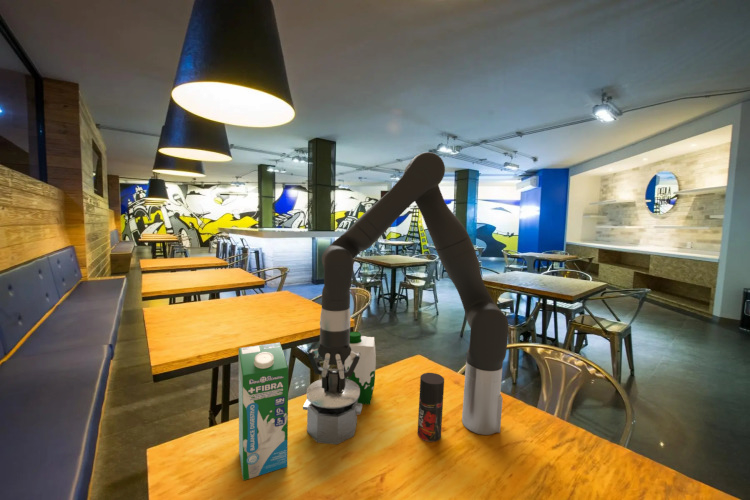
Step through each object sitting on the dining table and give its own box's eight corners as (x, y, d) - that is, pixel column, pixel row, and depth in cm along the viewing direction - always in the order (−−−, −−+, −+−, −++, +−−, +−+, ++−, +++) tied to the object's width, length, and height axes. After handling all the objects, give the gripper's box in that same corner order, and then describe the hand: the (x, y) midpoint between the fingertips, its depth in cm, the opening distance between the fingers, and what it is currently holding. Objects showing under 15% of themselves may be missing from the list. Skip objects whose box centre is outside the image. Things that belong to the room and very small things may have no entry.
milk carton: (243, 481, 66) (242, 364, 64) (239, 452, 74) (238, 347, 72) (287, 467, 71) (288, 356, 68) (279, 441, 79) (280, 341, 76)
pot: (363, 416, 90) (364, 392, 89) (357, 446, 78) (358, 418, 77) (311, 411, 91) (311, 387, 90) (297, 440, 79) (297, 413, 78)
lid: (363, 382, 90) (363, 361, 89) (355, 411, 76) (356, 387, 75) (314, 378, 91) (315, 358, 90) (299, 405, 77) (299, 382, 77)
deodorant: (445, 434, 83) (448, 378, 82) (432, 445, 79) (435, 386, 77) (426, 423, 87) (429, 370, 86) (412, 433, 83) (415, 378, 81)
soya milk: (346, 389, 103) (347, 328, 101) (374, 390, 103) (376, 329, 101) (342, 405, 94) (344, 338, 92) (373, 406, 94) (376, 340, 92)
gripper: (364, 322, 85) (362, 384, 86) (312, 318, 86) (310, 380, 88) (360, 332, 77) (358, 400, 79) (303, 328, 79) (302, 395, 80)
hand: (333, 389), depth 83 cm, fingers closed on lid, 3 cm apart
